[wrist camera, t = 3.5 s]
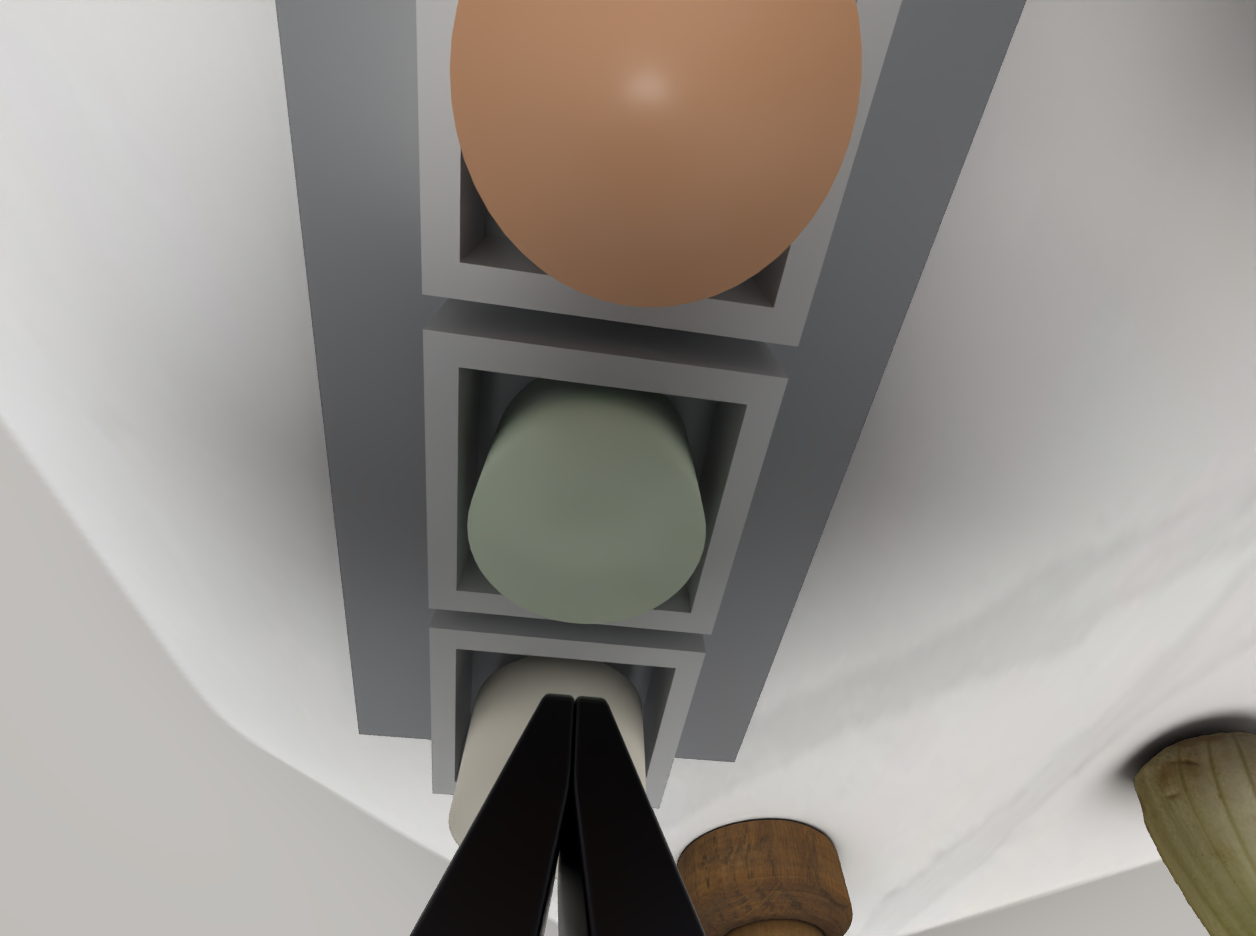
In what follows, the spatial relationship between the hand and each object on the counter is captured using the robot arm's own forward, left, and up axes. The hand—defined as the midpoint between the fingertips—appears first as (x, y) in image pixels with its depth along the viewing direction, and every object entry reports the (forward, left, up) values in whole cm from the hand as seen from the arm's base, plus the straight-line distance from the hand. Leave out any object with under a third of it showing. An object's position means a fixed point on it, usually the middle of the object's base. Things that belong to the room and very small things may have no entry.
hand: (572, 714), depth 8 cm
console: (0, 0, -8) cm, 8 cm away
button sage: (0, 0, -7) cm, 7 cm away
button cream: (0, +7, -5) cm, 9 cm away
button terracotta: (0, -7, -5) cm, 9 cm away
